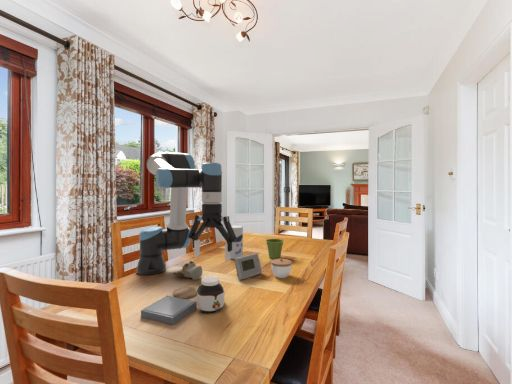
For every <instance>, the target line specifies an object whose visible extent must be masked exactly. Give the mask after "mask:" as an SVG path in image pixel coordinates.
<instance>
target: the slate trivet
mask: <svg viewBox="0 0 512 384" xmlns="http://www.w3.org/2000/svg"><path fill="white" fill-rule="evenodd" d="M197 308H198V305H197V300H191V299H188V298H187V299H182V298H177V297H173V295H172V296H171V295H165V296H164V297H162V298H160V299H159V300H156V301H155V302H152V303H151V304H150V305H148V306H146V307H144V308H142V309H141V310H140V317H141V318H142V319H147V320H150V321H154V322H159V323H164V324H166V325H170V326H174V325H175V324H177V323H178V322H179V321H180V320H182V319H184V318H185V317H187V315H189V314H190V313H192V311H194V310H195V309H197Z"/></svg>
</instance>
